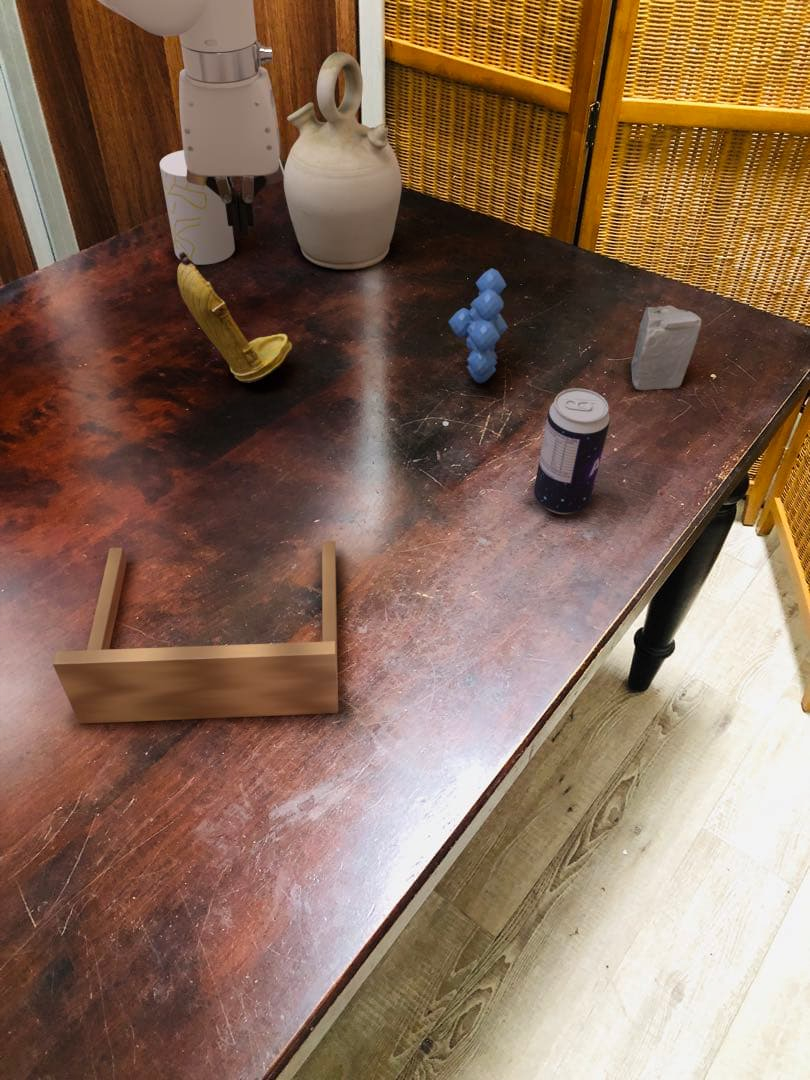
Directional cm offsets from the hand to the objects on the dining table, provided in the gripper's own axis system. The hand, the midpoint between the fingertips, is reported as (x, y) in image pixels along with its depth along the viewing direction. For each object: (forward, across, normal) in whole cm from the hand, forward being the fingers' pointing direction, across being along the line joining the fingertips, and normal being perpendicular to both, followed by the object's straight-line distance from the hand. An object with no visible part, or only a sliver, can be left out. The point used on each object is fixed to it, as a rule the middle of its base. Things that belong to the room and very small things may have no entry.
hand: (242, 230), depth 102 cm
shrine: (+11, 0, +12) cm, 17 cm away
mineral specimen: (+12, -48, +14) cm, 51 cm away
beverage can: (+12, -32, +35) cm, 49 cm away
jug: (+12, -12, -16) cm, 23 cm away
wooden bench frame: (+11, 0, +49) cm, 51 cm away
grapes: (+12, -26, +12) cm, 31 cm away
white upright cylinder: (+12, +8, -17) cm, 22 cm away
